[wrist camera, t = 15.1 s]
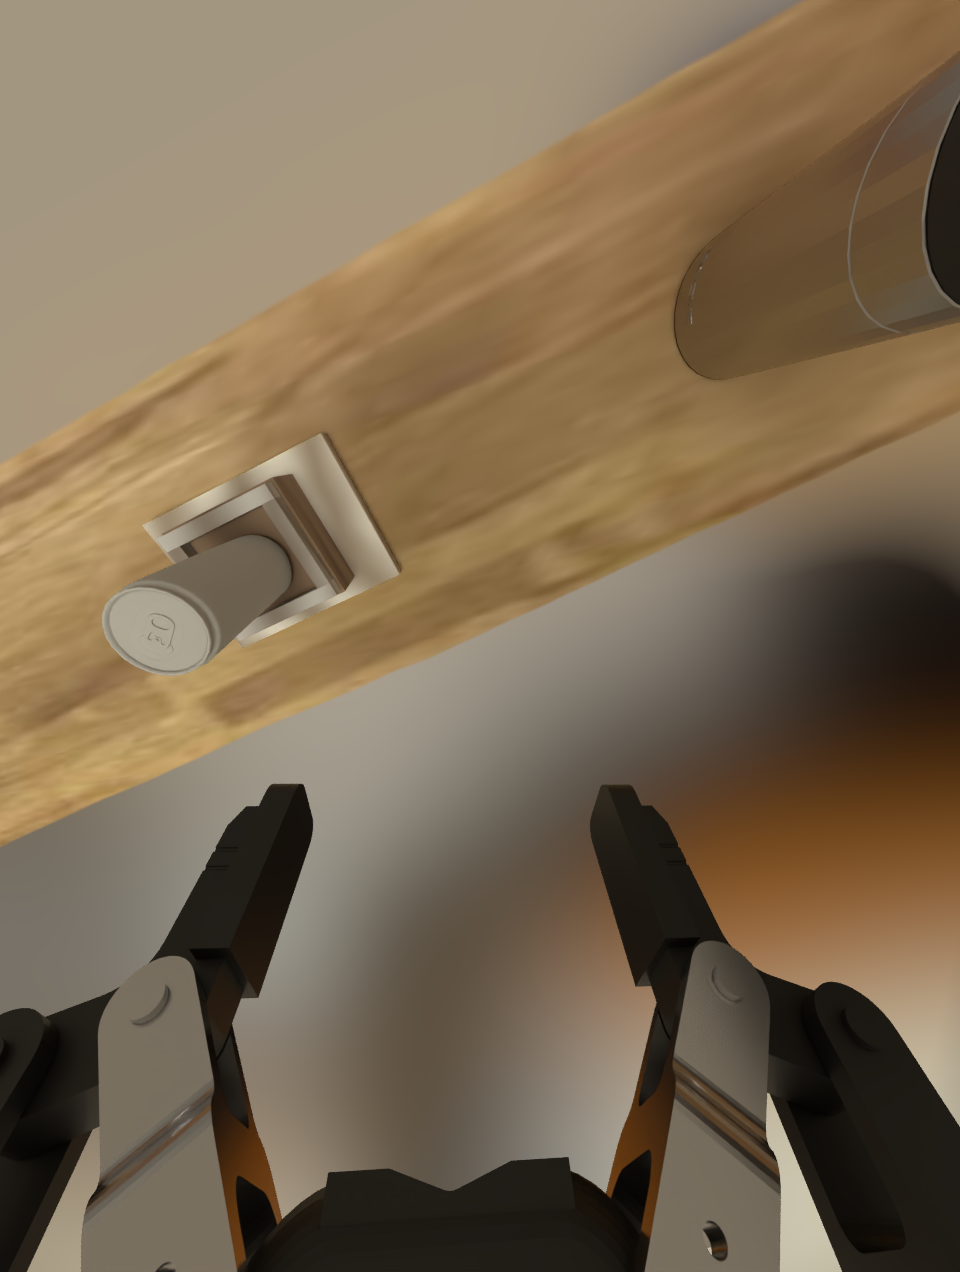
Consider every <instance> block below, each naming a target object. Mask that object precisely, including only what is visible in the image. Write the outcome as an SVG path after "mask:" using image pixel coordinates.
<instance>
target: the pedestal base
mask: <svg viewBox="0 0 960 1272" xmlns="http://www.w3.org/2000/svg"><path fill="white" fill-rule="evenodd" d="M142 526H143V527H144V528H145V530H146V531H147V532H148V533H149V534H150V536H151V537H152V538H153V539H154V541H155V542H156V543H157V544H158V545H159V547H160V548H161V549H162V550H163V552H164V553H165V554H166V555H167V556H168V558H169V559H170V560H171V561H172V562H173V564H176V563H178V562H181V561H183V560H185V559H188V558H190V557H192V556H195V555H197V554H199V553H202V552H204V551H207V550H209V549H212V548H214V547H217V546H219V545H221V544H224V543H226V542H229V541H231V540H234V539H236V538H238V537H241V536H246V535H259V536H262V537H266V538H268V539H270V540H272V541H273V542H275V543H277V544H278V545H279V546H280V547H281V548H282V549H283V550H284V552H285V553H286V555H287V557H288V559H289V562H290V565H291V571H292V578H291V583H290V585H289V587H288V589H287V590H286V591H285V592H284V593H283V594H282V595H281V596H280V597H278V598H277V599H276V600H275V601H274V602H273V603H272V604H271V605H270V606H269V607H268V608H267V609H265V610H264V611H263V612H262V613H261V614H260V615H259V616H258V617H257V618H256V619H255V620H254V621H253V622H251V623H250V624H249V625H248V626H247V627H246V628H245V629H244V630H243V631H242V632H241V633H240V634H238V635H237V636H236V637H235V639H236V640H237V642H238V643H239V644H240V645H241V646H242V648H244V647H246V646H248V645H251V644H253V643H255V642H257V641H259V640H261V639H263V638H265V637H268V636H270V635H272V634H274V633H276V632H278V631H280V630H283V629H285V628H287V627H289V626H291V625H293V624H295V623H297V622H300V621H302V620H304V619H306V618H308V617H310V616H312V615H315V614H317V613H319V612H321V611H323V610H325V609H327V608H329V607H332V606H334V605H336V604H338V603H340V602H342V601H344V600H347V599H349V598H351V597H353V596H355V595H357V594H359V593H361V592H364V591H366V590H368V589H370V588H372V587H374V586H376V585H379V584H381V583H383V582H385V581H387V580H389V579H391V578H393V577H396V576H398V575H400V572H401V569H400V567H399V565H398V563H397V562H396V560H395V558H394V556H393V554H392V553H391V551H390V549H389V547H388V545H387V543H386V542H385V540H384V538H383V536H382V534H381V533H380V531H379V529H378V527H377V525H376V524H375V522H374V520H373V518H372V516H371V515H370V513H369V511H368V509H367V507H366V506H365V504H364V502H363V500H362V498H361V496H360V495H359V493H358V491H357V489H356V487H355V486H354V484H353V482H352V480H351V478H350V477H349V475H348V473H347V471H346V469H345V468H344V466H343V464H342V462H341V460H340V458H339V457H338V455H337V453H336V451H335V449H334V448H333V446H332V444H331V442H330V440H329V439H328V437H327V435H326V434H324V433H320V434H318V435H316V436H314V437H312V438H310V439H308V440H306V441H304V442H303V443H301V444H299V445H297V446H295V447H293V448H291V449H289V450H287V451H285V452H283V453H281V454H279V455H277V456H276V457H274V458H272V459H270V460H268V461H266V462H264V463H262V464H260V465H258V466H256V467H254V468H252V469H250V470H248V471H247V472H245V473H243V474H241V475H239V476H237V477H235V478H233V479H231V480H229V481H227V482H225V483H223V484H221V485H219V486H218V487H216V488H214V489H212V490H210V491H208V492H206V493H204V494H202V495H200V496H198V497H196V498H194V499H192V500H190V501H189V502H187V503H185V504H183V505H181V506H179V507H177V508H175V509H173V510H171V511H169V512H167V513H165V514H163V515H162V516H160V517H158V518H156V519H154V520H152V521H150V522H148V523H146V524H144V525H142Z"/></svg>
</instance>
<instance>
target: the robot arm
mask: <svg viewBox="0 0 960 1272" xmlns="http://www.w3.org/2000/svg"><path fill="white" fill-rule="evenodd" d="M958 322H960V51H959V52H957V53H956V54H955V55H954V56H952V57H951V58H950V59H949V60H947V61H946V62H945V63H943V64H942V65H941V66H939V67H938V68H937V69H936V70H934V71H933V72H932V73H930V74H929V75H928V76H926V77H925V78H924V79H922V80H921V81H920V82H918V83H917V84H916V85H915V86H913V87H912V88H911V89H909V90H908V91H907V92H905V93H904V94H903V95H901V96H900V97H899V98H898V99H896V100H895V101H894V102H892V103H891V104H890V105H888V106H887V107H886V108H884V109H883V110H882V111H880V112H879V113H878V114H877V115H875V116H874V117H873V118H871V119H870V120H869V121H867V122H866V123H865V124H863V125H862V126H861V127H860V128H858V129H857V130H856V131H854V132H853V133H852V134H850V135H849V136H848V137H846V138H845V139H844V140H842V141H841V142H840V143H839V144H837V145H836V146H835V147H833V148H832V149H831V150H829V151H828V152H827V153H825V154H824V155H823V156H822V157H820V158H819V159H818V160H816V161H815V162H814V163H812V164H811V165H810V166H808V167H807V168H806V169H804V170H803V171H802V172H801V173H799V174H798V175H797V176H795V177H794V178H793V179H791V180H790V181H789V182H787V183H786V184H785V185H784V186H782V187H781V188H780V189H778V190H777V191H776V192H774V193H773V194H772V195H770V196H769V197H768V198H767V199H765V200H764V201H763V202H761V203H760V204H759V205H757V206H756V207H755V208H753V209H752V210H751V211H749V212H748V213H747V214H745V215H744V216H743V217H741V218H740V219H739V220H737V221H736V222H735V223H734V224H732V225H731V226H730V227H728V228H727V229H726V230H724V231H723V232H722V233H720V234H719V235H718V236H717V237H715V238H714V239H713V240H712V241H711V242H710V243H709V244H708V245H707V246H706V247H705V248H704V249H703V250H701V252H700V253H699V255H698V256H697V257H696V259H695V260H694V261H693V263H692V264H691V266H690V268H689V270H688V272H687V274H686V276H685V278H684V280H683V283H682V286H681V289H680V292H679V295H678V299H677V304H676V310H675V332H676V338H677V344H678V346H679V349H680V351H681V354H682V356H683V358H684V359H685V361H686V362H687V363H688V365H689V366H690V367H691V368H692V369H693V370H695V371H696V372H697V373H698V374H700V375H703V376H705V377H707V378H711V379H719V380H721V379H729V378H734V377H738V376H742V375H746V374H750V373H755V372H759V371H763V370H768V369H772V368H776V367H780V366H784V365H788V364H792V363H796V362H800V361H804V360H808V359H812V358H817V357H821V356H825V355H829V354H833V353H837V352H841V351H845V350H849V349H853V348H857V347H861V346H865V345H870V344H874V343H878V342H882V341H886V340H890V339H894V338H898V337H902V336H906V335H910V334H914V333H918V332H922V331H927V330H931V329H934V328H937V327H941V326H946V325H950V324H954V323H958ZM312 832H313V818H312V814H311V810H310V806H309V802H308V798H307V794H306V791H305V787H304V785H303V784H272V785H270V786H269V788H268V789H267V791H266V793H265V795H264V797H263V799H262V801H261V803H260V805H259V806H247V807H245V808H244V809H243V811H242V812H240V813H239V814H238V816H236V818H235V819H234V820H233V821H232V822H231V823H230V824H229V825H228V826H227V828H226V829H225V832H224V833H223V835H222V837H221V839H220V841H219V842H218V844H217V846H216V850H215V852H213V853H212V855H211V857H210V859H209V861H208V863H207V864H206V869H205V870H204V871H203V872H202V874H201V875H200V877H199V879H198V881H197V883H196V885H195V886H194V888H193V890H192V892H191V894H190V896H189V897H188V899H187V901H186V903H185V905H184V907H183V908H182V910H181V912H180V914H179V916H178V918H177V919H176V921H175V923H174V925H173V927H172V929H171V931H170V932H169V934H168V936H167V938H166V940H165V942H164V943H163V945H162V946H161V948H160V950H159V951H158V953H157V954H156V955H155V956H154V958H153V959H152V960H151V961H150V962H149V963H148V964H147V965H145V966H143V967H142V968H140V969H139V970H138V971H136V972H135V973H134V974H133V975H131V976H130V977H129V978H128V979H127V980H126V981H125V982H124V983H123V984H122V985H121V986H120V987H119V988H117V989H115V990H113V991H112V992H109V993H107V994H105V995H102V996H100V997H97V998H95V999H92V1000H89V1001H87V1002H84V1003H81V1004H79V1005H76V1006H73V1007H71V1008H68V1009H65V1010H63V1011H60V1012H57V1013H55V1014H52V1015H49V1016H47V1017H44V1016H43V1015H41V1014H40V1013H38V1012H37V1011H36V1010H33V1009H30V1008H21V1009H15V1010H12V1011H9V1012H6V1013H3V1014H1V1015H0V1272H27V1270H28V1268H29V1266H30V1264H31V1261H32V1259H33V1257H34V1255H35V1253H36V1250H37V1248H38V1246H39V1244H40V1242H41V1240H42V1238H43V1236H44V1233H45V1231H46V1229H47V1227H48V1225H49V1223H50V1220H51V1218H52V1216H53V1214H54V1212H55V1210H56V1207H57V1205H58V1203H59V1201H60V1199H61V1197H62V1194H63V1192H64V1190H65V1188H66V1186H67V1183H68V1181H69V1179H70V1177H71V1175H72V1173H73V1171H74V1169H75V1166H76V1164H77V1162H78V1160H79V1158H80V1156H81V1153H82V1151H83V1149H84V1147H85V1145H86V1143H87V1140H88V1138H89V1136H90V1134H91V1132H92V1130H93V1129H95V1128H97V1127H99V1126H100V1178H99V1183H98V1186H97V1189H96V1191H95V1192H94V1194H93V1195H92V1196H91V1198H90V1199H89V1201H88V1204H87V1207H86V1211H85V1215H84V1221H83V1227H82V1241H81V1272H780V1211H781V1210H780V1207H781V1185H780V1174H779V1168H778V1163H777V1160H776V1156H775V1155H774V1152H773V1151H772V1150H771V1149H770V1147H769V1145H768V1142H767V1138H766V1106H767V1093H769V1094H770V1095H771V1098H772V1100H773V1103H774V1105H775V1108H776V1110H777V1113H778V1115H779V1118H780V1120H781V1123H782V1125H783V1127H784V1130H785V1132H786V1135H787V1137H788V1140H789V1142H790V1145H791V1147H792V1149H793V1152H794V1154H795V1157H796V1159H797V1162H798V1164H799V1167H800V1169H801V1171H802V1174H803V1176H804V1179H805V1181H806V1184H807V1186H808V1189H809V1191H810V1194H811V1196H812V1199H813V1201H814V1203H815V1206H816V1208H817V1211H818V1213H819V1216H820V1218H821V1221H822V1223H823V1226H824V1228H825V1230H826V1233H827V1235H828V1238H829V1240H830V1243H831V1245H832V1248H833V1250H834V1252H835V1255H836V1257H837V1260H838V1262H839V1265H840V1267H841V1270H842V1272H960V1127H959V1125H958V1124H957V1122H956V1121H955V1119H954V1117H953V1116H952V1114H951V1113H950V1111H949V1110H948V1108H947V1107H946V1105H945V1104H944V1102H943V1101H942V1099H941V1098H940V1096H939V1095H938V1093H937V1091H936V1090H935V1088H934V1087H933V1085H932V1084H931V1082H930V1081H929V1079H928V1078H927V1076H926V1074H925V1073H924V1071H923V1070H922V1068H921V1067H920V1065H919V1064H918V1062H917V1061H916V1059H915V1058H914V1056H913V1055H912V1053H911V1051H910V1050H909V1048H908V1047H907V1045H906V1044H905V1042H904V1041H903V1039H902V1038H901V1036H900V1035H899V1033H898V1032H897V1030H896V1029H895V1027H894V1026H893V1024H892V1023H891V1022H890V1020H889V1019H888V1018H887V1017H886V1016H885V1014H884V1013H883V1012H882V1011H881V1010H880V1009H879V1008H878V1007H877V1006H876V1005H875V1004H874V1003H872V1002H871V1001H870V1000H869V999H868V998H866V997H865V996H864V995H862V994H861V993H859V992H858V991H856V990H854V989H853V988H851V987H849V986H846V985H844V984H841V983H837V982H826V983H823V984H821V985H820V986H819V987H818V988H817V989H815V990H811V989H808V988H805V987H802V986H799V985H797V984H794V983H791V982H788V981H785V980H782V979H780V978H777V977H774V976H771V975H769V974H766V973H764V972H762V971H760V970H758V969H756V968H755V967H754V966H753V965H752V964H751V963H750V962H749V961H748V960H747V959H746V958H745V957H744V956H743V955H742V954H741V953H739V952H738V951H737V950H735V949H734V948H732V946H730V944H729V943H728V941H727V940H726V938H725V937H724V936H723V934H722V932H721V930H720V928H719V926H718V924H717V922H716V920H715V918H714V916H713V914H712V912H711V910H710V908H709V906H708V904H707V902H706V900H705V898H704V896H703V894H702V891H701V889H700V887H699V885H698V883H697V881H696V879H695V877H694V875H693V873H692V871H691V869H690V867H689V865H687V864H686V859H685V857H684V855H683V853H682V851H681V849H680V848H679V847H678V843H677V841H676V839H675V837H674V835H673V833H672V831H671V829H670V827H669V824H668V823H667V822H666V821H665V820H664V819H663V817H662V816H661V815H660V814H659V813H658V812H657V811H656V810H655V809H654V808H653V807H652V806H641V804H640V801H639V799H638V797H637V794H636V792H635V790H634V789H633V787H632V786H631V785H602V786H601V787H600V790H599V793H598V796H597V800H596V803H595V806H594V809H593V812H592V816H591V820H590V832H591V838H592V843H593V846H594V849H595V853H596V856H597V859H598V863H599V866H600V869H601V873H602V876H603V879H604V883H605V886H606V889H607V893H608V896H609V899H610V903H611V906H612V909H613V913H614V915H615V919H616V923H617V926H618V929H619V933H620V935H621V939H622V942H623V945H624V949H625V953H626V956H627V959H628V963H629V966H630V969H631V972H632V976H633V979H634V982H635V986H652V989H653V993H654V995H655V999H656V1002H657V1003H656V1006H655V1009H654V1014H653V1018H652V1022H651V1026H650V1031H649V1035H648V1040H647V1043H646V1048H645V1052H644V1056H643V1061H642V1065H641V1069H640V1074H639V1078H638V1082H637V1087H636V1091H635V1095H634V1099H633V1103H632V1106H631V1109H630V1112H629V1115H628V1117H627V1120H626V1122H625V1125H624V1127H623V1130H622V1133H621V1136H620V1139H619V1142H618V1146H617V1150H616V1154H615V1158H614V1162H613V1166H612V1170H611V1174H610V1178H609V1182H608V1187H607V1191H606V1193H605V1192H603V1191H602V1190H601V1189H600V1188H598V1187H597V1186H596V1185H595V1184H593V1183H592V1182H591V1181H589V1180H587V1179H585V1178H584V1177H582V1176H581V1175H579V1174H577V1173H574V1172H572V1171H570V1165H569V1158H568V1157H563V1158H547V1159H533V1160H517V1161H510V1162H508V1163H506V1164H504V1165H502V1166H501V1167H499V1168H497V1169H495V1170H493V1171H491V1172H489V1173H487V1174H485V1175H483V1176H481V1177H479V1178H478V1179H476V1180H474V1181H472V1182H470V1183H468V1184H466V1185H464V1186H462V1187H461V1188H458V1189H456V1190H454V1191H446V1190H442V1189H440V1188H437V1187H435V1186H432V1185H430V1184H427V1183H425V1182H422V1181H419V1180H417V1179H414V1178H412V1177H409V1176H407V1175H404V1174H402V1173H399V1172H396V1171H394V1170H391V1169H376V1170H361V1171H345V1172H329V1173H328V1178H327V1184H326V1187H324V1188H322V1189H320V1190H319V1191H317V1192H315V1193H314V1194H312V1195H311V1196H310V1197H308V1198H307V1199H305V1200H304V1201H302V1202H301V1203H300V1204H299V1205H298V1206H296V1207H295V1208H294V1209H293V1210H292V1211H291V1212H290V1213H289V1214H288V1215H286V1216H285V1217H284V1218H283V1219H282V1216H281V1213H280V1208H279V1203H278V1199H277V1195H276V1191H275V1186H274V1182H273V1178H272V1173H271V1170H270V1166H269V1163H268V1159H267V1156H266V1153H265V1150H264V1147H263V1144H262V1142H261V1140H260V1137H259V1135H258V1132H257V1129H256V1126H255V1122H254V1118H253V1113H252V1109H251V1105H250V1101H249V1096H248V1092H247V1087H246V1082H245V1078H244V1074H243V1069H242V1065H241V1060H240V1056H239V1052H238V1047H237V1043H236V1038H235V1035H234V1030H233V1025H232V1022H233V1019H234V1016H235V1014H236V1011H237V1008H238V1005H239V1003H240V999H241V998H258V997H259V994H260V991H261V988H262V985H263V982H264V979H265V976H266V973H267V970H268V967H269V964H270V961H271V958H272V955H273V952H274V949H275V946H276V943H277V940H278V938H279V934H280V932H281V929H282V926H283V922H284V919H285V916H286V914H287V911H288V908H289V904H290V902H291V899H292V896H293V893H294V890H295V887H296V884H297V881H298V878H299V875H300V872H301V869H302V866H303V863H304V860H305V857H306V854H307V851H308V848H309V845H310V842H311V837H312ZM709 1247H711V1249H712V1255H711V1254H710V1253H709V1251H708V1249H707V1248H709Z"/></svg>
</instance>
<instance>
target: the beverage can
mask: <svg viewBox="0 0 960 1272" xmlns="http://www.w3.org/2000/svg"><path fill="white" fill-rule="evenodd" d="M291 578H292V571H291V565H290V562H289V559H288V557H287V555H286V553H285V552H284V550H283V549H282V548H281V547H280V546H279V545H278V544H277V543H275V542H273V541H272V540H270V539H268V538H266V537H262V536H259V535H246V536H241V537H238V538H236V539H234V540H231V541H229V542H226V543H224V544H221V545H219V546H217V547H214V548H212V549H209V550H207V551H204V552H202V553H199V554H197V555H195V556H192V557H190V558H188V559H185V560H183V561H181V562H178V563H176V564H174V565H171V566H169V567H167V568H164V569H162V570H160V571H158V572H155V573H153V574H151V575H148V576H146V577H144V578H141V579H139V580H137V581H135V582H133V583H131V584H129V585H127V586H125V587H123V588H122V589H121V590H120V591H119V592H118V593H117V594H115V595H113V597H112V598H111V599H110V600H109V601H108V602H107V603H106V605H105V607H104V610H103V613H102V627H103V630H104V633H105V637H106V638H107V640H108V641H109V643H110V645H111V646H112V648H113V649H114V650H115V651H116V652H117V653H118V654H119V655H120V656H121V657H122V658H123V659H125V660H126V661H128V662H129V663H131V664H132V665H134V666H136V667H138V668H140V669H142V670H145V671H147V672H150V673H155V674H159V675H172V676H175V675H181V674H186V673H189V672H191V671H193V670H195V669H197V668H198V667H200V666H202V665H204V664H207V663H208V662H209V661H210V660H211V659H213V658H214V657H215V656H216V655H217V654H218V653H219V652H220V651H221V650H222V649H223V648H224V647H225V646H227V645H228V644H229V643H230V642H231V641H232V640H233V639H234V638H235V637H236V636H237V635H238V634H240V633H241V632H242V631H243V630H244V629H245V628H246V627H247V626H248V625H249V624H250V623H251V622H253V621H254V620H255V619H256V618H257V617H258V616H259V615H260V614H261V613H262V612H263V611H264V610H265V609H267V608H268V607H269V606H270V605H271V604H272V603H273V602H274V601H275V600H276V599H277V598H278V597H280V596H281V595H282V594H283V593H284V592H285V591H286V590H287V589H288V587H289V585H290V583H291Z"/></svg>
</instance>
